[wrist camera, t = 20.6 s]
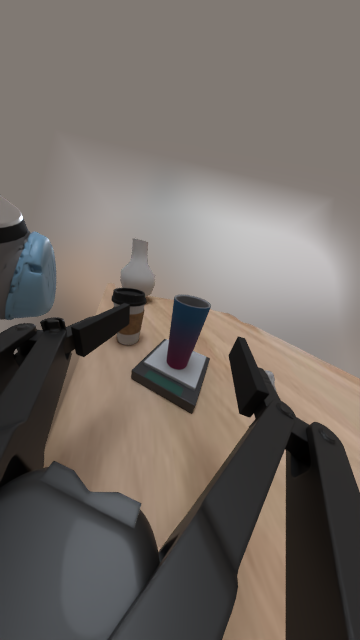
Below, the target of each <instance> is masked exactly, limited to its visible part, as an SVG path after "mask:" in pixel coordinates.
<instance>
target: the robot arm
mask: <svg viewBox="0 0 360 640" xmlns="http://www.w3.org/2000/svg"><path fill="white" fill-rule="evenodd" d="M55 292H56V264H55V256H54V251H53V247H52V245H51V244H50V241H49V239H48V238H47V237H45V236H43V235H40V234H39V233H38V232H32V233H30V232H29V231H28V229H27V227H26V224H25V221H24V219H23V216H22V214H21V212H20V210H19V209H18V208H17V207H16V206H15V205H13V204H12V203H11V202H9V201H8V200H7V199H5V198H4V197H2V196H1V195H0V319H7V320H12V319H14V318H24V317H37V316H41V315H44V314H46V313H47V312H48V311H50V309H51V308H52V306H53V303H54V299H55ZM129 321H130V305H129V304H126V303H123V304H121V305H119V306H117V307H114V308H112V309H110V310H108V311H105V312H103V313H101V314H99V315H96V316H93V317H89V318H86V319H84V320H82V321H80V322H77V323H75V324H72V325H70V326H68V327H66V326H65V322H64V320H63V319H62V318H48V319H44V320H42V321H41V322H40V323H41V326H42V329H43V330H37V329H36V326H35V325H34V324H30V323H27V324H25V323H24V324H18V325H15V326H12V327H10V328H9V329H7V330H5V331H3V332H1V333H0V640H222V638H223V635H224V632H225V629H226V626H227V624H228V621H229V618H230V615H231V612H232V609H233V606H234V603H235V599H236V595H237V589H238V580H237V574H238V569H239V566H240V563H241V560H242V558H243V555H244V553H245V550H246V548H247V545H248V542H249V540H250V537H251V535H252V532H253V530H254V527H255V524H256V522H257V519H258V517H259V514H260V512H261V509H262V506H263V504H264V501H265V499H266V496H267V494H268V491H269V488H270V486H271V483H272V481H273V478H274V476H275V473H276V470H277V468H278V465H279V463H280V460H281V458H282V455H283V452H284V450H285V449H286V640H360V492H359V489H358V486H357V483H356V481H355V478H354V475H353V472H352V469H351V466H350V463H349V460H348V458H347V455H346V452H345V449H344V446H343V444H342V443H341V441H340V440H339V438H338V437H337V436H336V435H335V434H334V433H333V432H332V431H331V430H330V429H328V428H327V427H326V426H324V425H322V424H320V423H318V422H313V423H312V424H310V425H309V424H307V423H305V422H304V421H302V420H300V419H299V418H297V417H296V416H295V414H294V412H293V411H292V410H291V408H290V407H289V406H288V405H286V404H285V403H284V402H282V401H281V400H280V398H279V396H278V394H277V392H276V391H275V389H274V387H273V385H272V383H271V381H270V379H269V377H268V375H267V373H266V372H265V371H264V370H263V369H262V368H258V367H257V364H256V362H255V360H254V358H253V355H252V353H251V351H250V349H249V346H248V344H247V342H246V340H245V338H241V337H238V338H237V340H236V342H235V344H234V346H233V348H232V350H231V352H230V354H229V360H230V365H231V371H232V376H233V382H234V387H235V392H236V398H237V403H238V409H239V414H242V415H244V416H247V417H251V416H252V415H253V413H254V415H255V418H256V419H255V420H254V422H253V423H252V424H251V425H250V426H249V429H248V430H247V431H246V433H245V434H244V436H243V437H242V438H241V440H240V441H239V442H238V444H237V445H236V447H235V448H234V449H233V451H232V452H231V454H230V455H229V456H228V458H227V459H226V461H225V462H224V463H223V465H222V466H221V467H220V469H219V470H218V472H217V473H216V474H215V476H214V477H213V479H212V480H211V481H210V483H209V484H208V486H207V487H206V488H205V490H204V491H203V492H202V494H201V495H200V497H199V498H198V499H197V501H196V502H195V504H194V505H193V506H192V508H191V509H190V511H189V512H188V513H187V515H186V516H185V517H184V519H183V520H182V521H181V522H180V524H179V525H178V526H177V527H176V529H175V530H174V531H173V533H172V534H171V535H170V537H169V538H168V540H167V541H166V542H165V544H164V545H163V546H162V548H161V549H160V551H159V552H158V549H157V544H156V540H155V537H154V534H153V531H152V528H151V526H150V524H149V522H148V520H147V518H146V517H145V515H144V514H143V512H142V511H141V510H140V507H141V503H139V502H137V501H135V500H133V499H131V498H129V497H127V496H125V495H123V494H121V493H119V492H90V491H89V490H88V489H87V488H86V486H85V485H84V484H83V482H82V481H81V480H80V478H79V477H78V475H77V474H76V473H75V471H74V470H72V469H70V468H68V467H66V466H64V465H62V464H60V463H58V462H56V461H53V462H52V464H51V465H50V466H49V467H46V468H43V465H44V449H45V444H46V441H47V438H48V434H49V431H50V427H51V424H52V420H53V417H54V413H55V410H56V407H57V403H58V400H59V396H60V393H61V390H62V386H63V383H64V379H65V376H66V372H67V369H68V366H69V362H70V359H71V355H72V353H71V351H72V350H74V349H75V350H76V354H77V355H80V356H82V357H85V356H86V355H88V354H89V353H90V352H92V351H93V350H95V349H96V348H97V347H99V346H100V345H101V344H103V343H104V342H105V341H107V340H108V339H110V338H111V337H112V336H114V335H115V334H116V333H118V332H119V331H121V330H122V329H123V328H125V327H126V326H127V325H129ZM16 348H17V350H18V352H17V353H16V354H15V355H14V351H15V349H16ZM138 513H139V514H138ZM136 520H137V521H136Z"/></svg>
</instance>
